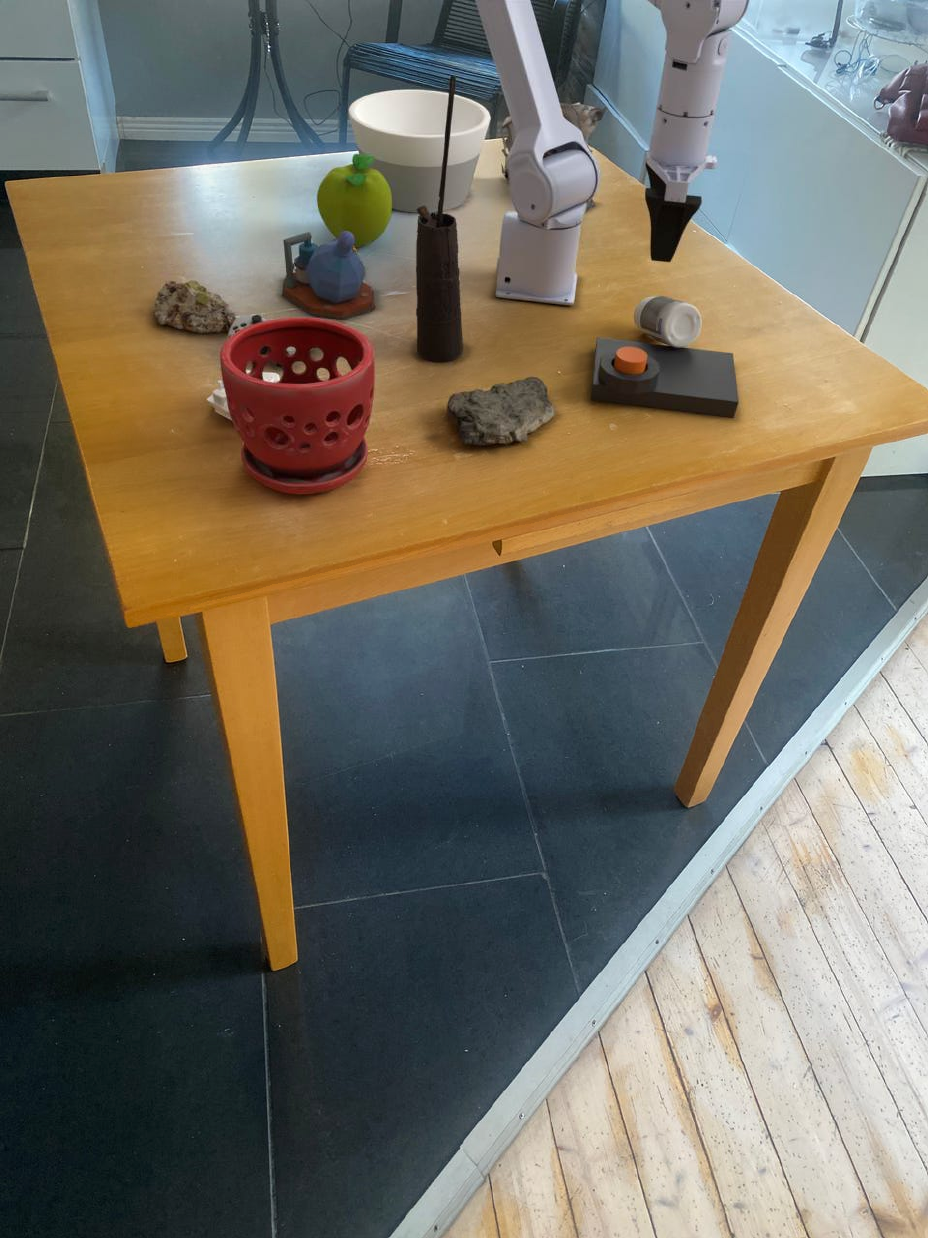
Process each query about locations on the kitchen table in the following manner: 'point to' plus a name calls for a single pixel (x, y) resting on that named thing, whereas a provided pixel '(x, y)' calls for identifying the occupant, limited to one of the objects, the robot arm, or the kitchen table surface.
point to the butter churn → (438, 273)
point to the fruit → (355, 201)
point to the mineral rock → (192, 308)
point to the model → (327, 278)
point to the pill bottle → (668, 320)
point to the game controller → (250, 320)
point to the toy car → (219, 395)
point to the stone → (500, 412)
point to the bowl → (420, 144)
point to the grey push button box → (667, 379)
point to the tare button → (630, 360)
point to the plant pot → (300, 403)
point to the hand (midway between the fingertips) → (660, 245)
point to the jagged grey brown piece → (574, 113)
